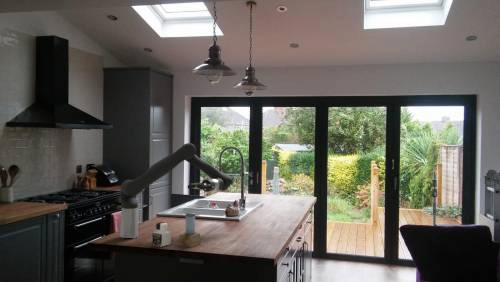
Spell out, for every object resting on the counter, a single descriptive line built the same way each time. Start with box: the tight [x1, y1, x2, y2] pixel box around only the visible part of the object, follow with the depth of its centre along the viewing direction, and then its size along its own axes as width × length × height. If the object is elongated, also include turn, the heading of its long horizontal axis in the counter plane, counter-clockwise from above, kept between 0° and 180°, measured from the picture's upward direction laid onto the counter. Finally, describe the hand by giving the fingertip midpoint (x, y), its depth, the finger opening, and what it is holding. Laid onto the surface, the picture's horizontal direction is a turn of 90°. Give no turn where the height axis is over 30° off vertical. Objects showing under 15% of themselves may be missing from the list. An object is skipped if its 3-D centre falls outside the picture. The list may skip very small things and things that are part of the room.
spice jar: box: [184, 212, 196, 235], centre depth 230 cm, size 5×5×11 cm
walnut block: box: [179, 232, 201, 248], centre depth 230 cm, size 8×8×6 cm
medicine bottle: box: [151, 221, 172, 248], centre depth 229 cm, size 7×7×12 cm
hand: (194, 187), depth 243 cm, fingers open, 8 cm apart
